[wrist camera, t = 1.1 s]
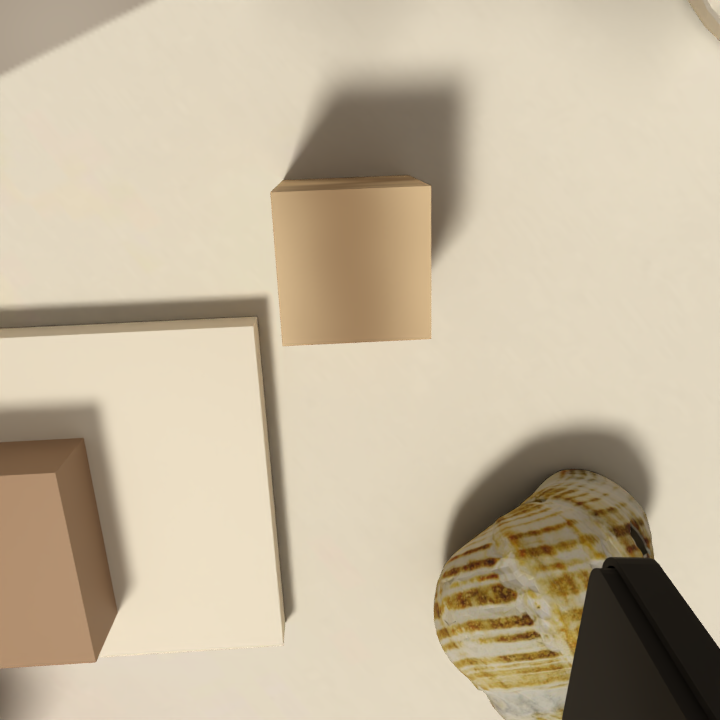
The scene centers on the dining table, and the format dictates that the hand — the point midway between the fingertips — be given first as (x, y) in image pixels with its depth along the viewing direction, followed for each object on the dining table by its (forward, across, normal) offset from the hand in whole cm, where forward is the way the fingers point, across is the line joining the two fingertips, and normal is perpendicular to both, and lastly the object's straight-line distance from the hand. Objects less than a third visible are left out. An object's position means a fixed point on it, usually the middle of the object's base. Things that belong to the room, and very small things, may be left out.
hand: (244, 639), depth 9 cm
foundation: (+19, +12, +10) cm, 25 cm away
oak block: (+20, -2, -2) cm, 20 cm away
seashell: (+20, -11, +13) cm, 26 cm away
